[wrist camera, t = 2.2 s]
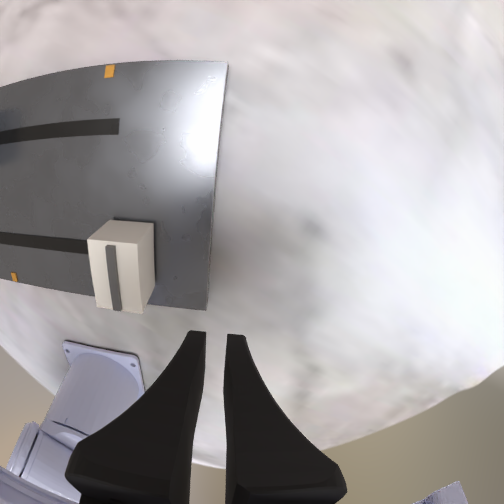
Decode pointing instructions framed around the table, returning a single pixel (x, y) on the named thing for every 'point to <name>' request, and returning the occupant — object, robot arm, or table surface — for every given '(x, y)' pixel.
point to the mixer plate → (111, 171)
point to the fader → (122, 265)
